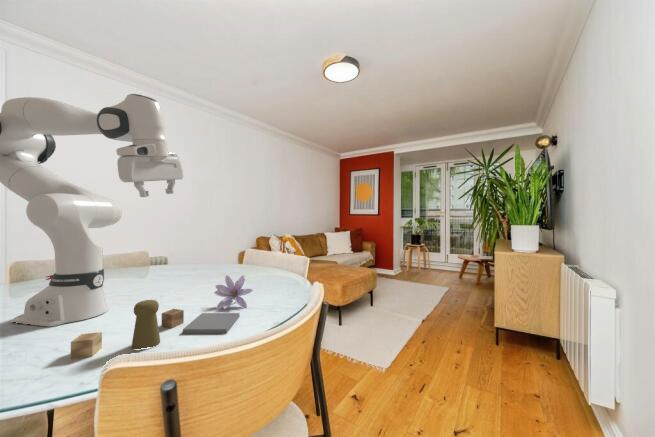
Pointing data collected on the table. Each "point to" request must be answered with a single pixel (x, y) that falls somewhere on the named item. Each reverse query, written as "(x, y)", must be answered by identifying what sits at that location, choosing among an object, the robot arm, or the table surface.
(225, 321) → the coaster
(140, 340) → the cork
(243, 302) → the water lily
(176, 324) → the walnut block
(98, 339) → the oak block
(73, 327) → the table surface
